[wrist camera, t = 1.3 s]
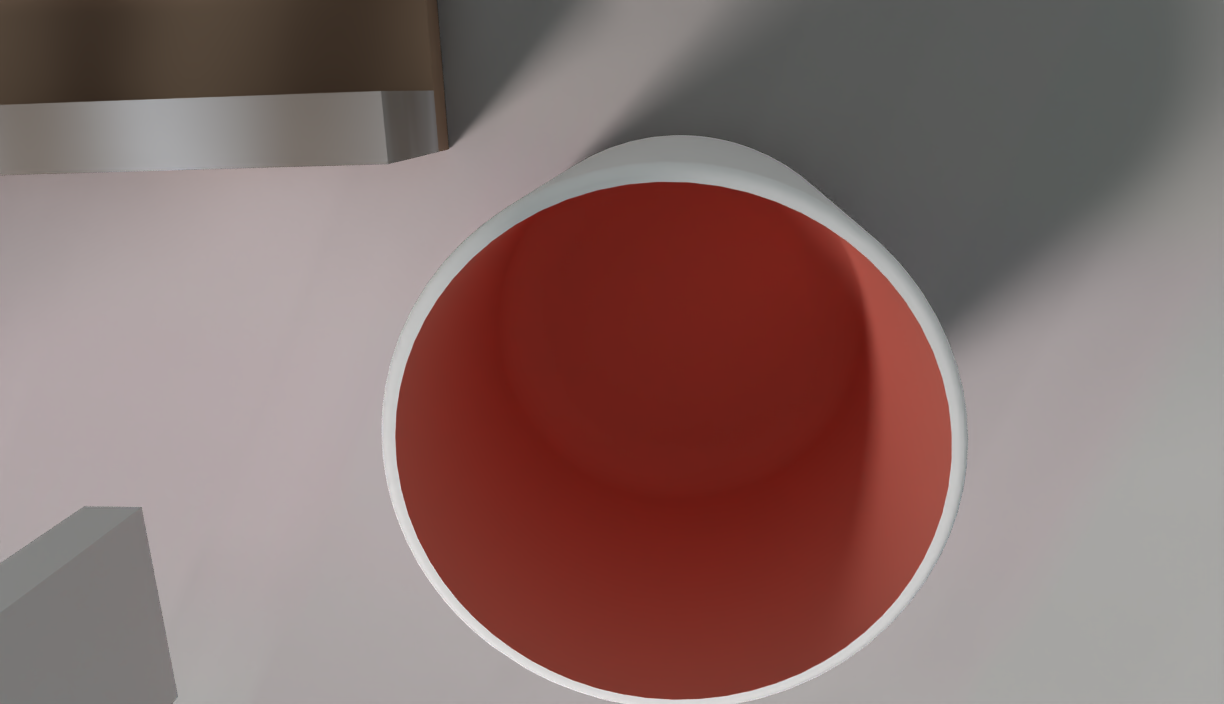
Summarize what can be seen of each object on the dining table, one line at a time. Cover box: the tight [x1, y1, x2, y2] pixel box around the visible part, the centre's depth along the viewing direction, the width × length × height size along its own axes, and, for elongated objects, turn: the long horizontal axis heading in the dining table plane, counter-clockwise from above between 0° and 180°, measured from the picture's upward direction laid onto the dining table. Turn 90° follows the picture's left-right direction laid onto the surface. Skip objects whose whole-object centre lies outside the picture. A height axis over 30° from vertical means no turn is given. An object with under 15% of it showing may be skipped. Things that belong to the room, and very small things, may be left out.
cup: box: [381, 135, 968, 704], centre depth 20 cm, size 10×10×10 cm
